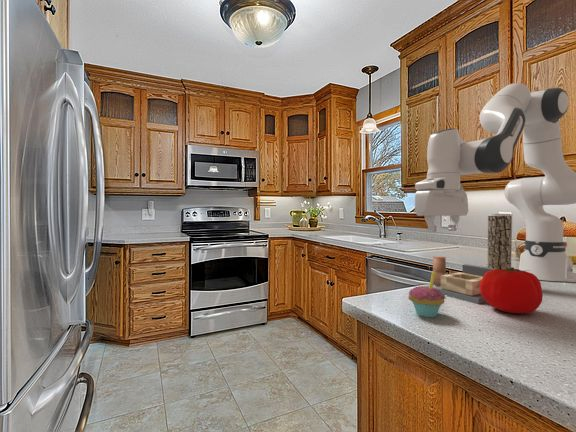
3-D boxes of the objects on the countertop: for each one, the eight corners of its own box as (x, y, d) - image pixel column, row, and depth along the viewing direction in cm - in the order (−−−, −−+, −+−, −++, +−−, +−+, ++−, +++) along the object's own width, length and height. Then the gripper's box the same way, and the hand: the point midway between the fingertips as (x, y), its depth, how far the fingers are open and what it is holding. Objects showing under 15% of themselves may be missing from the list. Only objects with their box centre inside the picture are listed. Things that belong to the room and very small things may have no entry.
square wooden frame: (459, 284, 103) (459, 272, 102) (491, 291, 94) (491, 278, 94) (440, 288, 98) (440, 275, 98) (472, 295, 89) (472, 282, 89)
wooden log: (515, 288, 103) (515, 214, 103) (492, 287, 105) (493, 214, 104) (505, 283, 110) (505, 213, 109) (484, 283, 111) (484, 213, 111)
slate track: (466, 285, 108) (466, 264, 108) (511, 294, 96) (511, 271, 96) (433, 292, 99) (433, 269, 99) (478, 304, 87) (478, 277, 87)
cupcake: (449, 314, 79) (449, 267, 79) (437, 323, 73) (437, 272, 73) (416, 306, 85) (416, 263, 85) (402, 314, 79) (402, 267, 79)
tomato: (547, 323, 72) (548, 274, 72) (481, 314, 79) (481, 269, 79) (536, 308, 83) (537, 265, 83) (478, 301, 90) (478, 261, 89)
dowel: (437, 283, 111) (437, 255, 111) (448, 285, 108) (448, 257, 107) (430, 284, 109) (430, 256, 109) (440, 287, 106) (440, 258, 106)
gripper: (454, 186, 99) (453, 229, 99) (410, 183, 89) (410, 231, 89) (474, 185, 93) (473, 231, 93) (430, 181, 83) (429, 233, 83)
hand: (442, 231), depth 91 cm, fingers open, 8 cm apart
